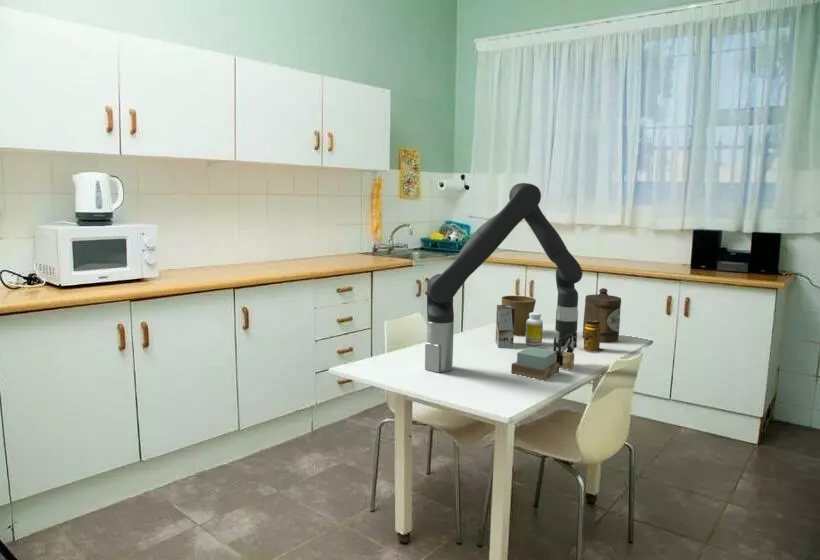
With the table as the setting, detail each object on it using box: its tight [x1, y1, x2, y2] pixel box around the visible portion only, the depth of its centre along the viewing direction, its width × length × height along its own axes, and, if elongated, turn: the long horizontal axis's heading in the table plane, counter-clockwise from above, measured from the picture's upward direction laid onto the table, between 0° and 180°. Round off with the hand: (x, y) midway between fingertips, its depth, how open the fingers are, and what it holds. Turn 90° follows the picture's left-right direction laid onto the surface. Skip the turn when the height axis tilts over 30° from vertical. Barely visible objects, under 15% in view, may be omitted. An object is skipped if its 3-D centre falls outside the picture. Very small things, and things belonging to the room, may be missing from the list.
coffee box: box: [495, 304, 515, 349], centre depth 242 cm, size 9×6×16 cm
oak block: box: [559, 351, 575, 370], centre depth 214 cm, size 5×5×5 cm
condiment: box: [579, 320, 606, 354], centre depth 237 cm, size 7×8×12 cm
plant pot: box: [501, 295, 537, 337], centre depth 262 cm, size 15×15×16 cm
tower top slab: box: [516, 346, 556, 369], centre depth 205 cm, size 10×10×4 cm
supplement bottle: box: [525, 311, 544, 346], centre depth 245 cm, size 7×7×13 cm
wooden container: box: [582, 287, 622, 344], centre depth 255 cm, size 15×15×22 cm
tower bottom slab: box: [510, 361, 560, 381], centre depth 206 cm, size 12×12×4 cm
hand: (564, 362), depth 214 cm, fingers open, 7 cm apart
